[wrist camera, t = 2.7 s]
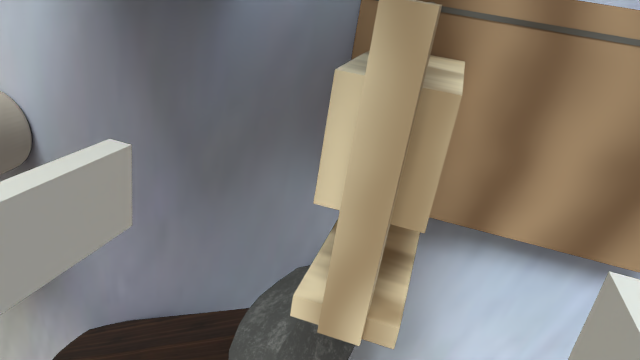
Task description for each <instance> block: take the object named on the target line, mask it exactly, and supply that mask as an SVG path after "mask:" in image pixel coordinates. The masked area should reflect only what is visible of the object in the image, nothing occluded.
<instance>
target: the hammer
mask: <svg viewBox="0 0 640 360" xmlns="http://www.w3.org/2000/svg"><path fill="white" fill-rule="evenodd" d="M310 266H311V265H310ZM310 266H305V267H300V268H297V269H296V270H294V271H293V272H291V273H290V274H288V275H287V276H285V277H284V278H283V279H281V280H280V281H278V282H277V283H275V284H274V285H273V286H272V287H271V288H269V289H268V290H267V291H266V292H264V293H263V294H262V295H261V296H260V297H259V298H258V299H257V300H256V301H255V302H254V304H253V305H252V306H251V307H250V308H246V309H237V310H227V311H217V312H208V313H198V314H188V315H179V316H169V317H160V318H150V319H140V320H131V321H125V322H120V323H115V324H110V325H105V326H102V327H98V328H94V329H90V330H88V331H86V332H85V333H83V334H82V335H80V336H79V337H78V338H76V339H75V340H74V341H72V342H71V343H70V344H68V345H67V346H66V347H65V348H64V349H63V350H61V351H60V352H59V353H58V354H57V355H56V356H55V357H54V358H53V360H348V358H349V356H350V354H351V352H352V350H353V348H354V346H355V345H354V344H351V343H348V342H345V341H342V340H339V339H336V338H333V337H330V336H327V335H324V334H321V333H317V330H318V325H317V324H314V323H311V322H308V321H305V320H301V319H298V318H295V317H292V316H290V313H291V306H292V300H293V295H294V293H295V291H296V290H297V288H298V286H299V285H300V283H301V281H302V279H303V278H304V276H305V274H306V273H307V271H308V269H309V268H310Z"/></svg>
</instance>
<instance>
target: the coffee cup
mask: <svg viewBox="0 0 640 360" xmlns="http://www.w3.org/2000/svg"><path fill="white" fill-rule="evenodd" d="M31 144H32V140H31V131H30V127H29V124H28V122H27V119H26V117H25V115H24V114H23V112H22V110H21V109H20V107H19V106H18V105H17V104H16V103H15V102H14V101H13V100H12V99H11V98H10V97H9V96H7V95H6V94H5V93H3V92H1V91H0V175H1V174H3V173H5V172H7V171H10V170H12V169H14V168H16V167H18V166H19V165H21V164H22V163H23V162H24V161H25V160H26V159H27V157H28V156H29V153H30V150H31Z"/></svg>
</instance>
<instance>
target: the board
mask: <svg viewBox="0 0 640 360" xmlns="http://www.w3.org/2000/svg"><path fill="white" fill-rule="evenodd" d="M417 1H423V2H435V3H436V4H440V5H442V8H441V12H440V16H439V20H438V25H437V29H436V33H435V37H434V41H433V46H432V50H431V54H430V55H433V56H438V57H443V58H448V59H453V60H459V61H464V62H465V69H464V81H463V92H462V98H461V102H460V106H459V109H458V113H457V117H456V120H455V124H454V128H453V131H452V135H451V139H450V142H449V146H448V150H447V153H446V157H445V161H444V164H443V168H442V172H441V175H440V179H439V183H438V186H437V190H436V194H435V197H434V201H433V205H432V208H431V212H430V216H429V217H430V218H433V219H437V220H441V221H445V222H449V223H453V224H456V225H460V226H464V227H468V228H472V229H475V230H479V231H483V232H487V233H491V234H495V235H498V236H502V237H506V238H510V239H514V240H517V241H521V242H525V243H529V244H533V245H537V246H540V247H544V248H548V249H552V250H556V251H560V252H563V253H567V254H571V255H575V256H579V257H582V258H586V259H590V260H594V261H598V262H602V263H605V264H609V265H613V266H617V267H621V268H624V269H628V270H632V271H636V272H640V10H634V9H628V8H622V7H616V6H609V5H603V4H597V3H590V2H584V1H578V0H417ZM378 3H379V0H361V5H360V11H359V17H358V23H357V28H356V34H355V40H354V46H353V52H352V57H351V60H353V59H354V58H356V57H358V56H360V55H362V54H363V53H365V52H367V51H369V50H370V46H371V41H372V35H373V30H374V25H375V19H376V14H377V8H378Z"/></svg>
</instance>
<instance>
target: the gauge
mask: <svg viewBox="0 0 640 360" xmlns="http://www.w3.org/2000/svg"><path fill="white" fill-rule="evenodd" d="M441 8H442V5H440V4H436V3H435V2H423V1H417V0H379V3H378V8H377V14H376V19H375V25H374V30H373V35H372V41H371V46H370V50H369V51H367V52H365V53H363V54H362V55H360V56H358V57H356V58H354V59H353V60H351V61H349V62H347V63H346V64H344V65H342V66H340V67H338V68H337V69H335V72H334V78H333V85H332V91H331V97H330V103H329V110H328V116H327V122H326V128H325V135H324V141H323V147H322V153H321V159H320V166H319V172H318V178H317V184H316V191H315V197H314V204H317V205H321V206H325V207H328V208H332V209H336V210H340V212H339V218H338V220H337V222H336V223H335V225H334V227H333V229H332V230H331V232H330V234H329V235H328V237H327V239H326V240H325V242H324V244H323V245H322V247H321V249H320V251H319V252H318V254H317V256H316V257H315V259H314V261H313V262H312V264H311V266H310V268H309V269H308V271H307V273H306V274H305V276H304V278H303V279H302V281H301V283H300V285H299V286H298V288H297V290H296V291H295V293H294V295H293V300H292V306H291V313H290V316H292V317H295V318H298V319H301V320H305V321H308V322H311V323H314V324H317V325H318V330H317V333H321V334H324V335H327V336H330V337H333V338H336V339H339V340H342V341H345V342H348V343H351V344H354V345H357V346H360V343H361V340H362V339H363V340H366V341H369V342H373V343H376V344H379V345H382V346H385V347H388V348H391V349H394V347H395V343H396V340H397V336H398V332H399V329H400V324H401V319H402V315H403V310H404V305H405V301H406V296H407V291H408V286H409V282H410V277H411V272H412V268H413V263H414V258H415V254H416V249H417V244H418V240H419V235H420V232H421V233H425V230H426V227H427V223H428V219H429V216H430V212H431V208H432V205H433V201H434V197H435V194H436V190H437V186H438V183H439V179H440V175H441V172H442V168H443V164H444V161H445V157H446V153H447V150H448V146H449V142H450V139H451V135H452V131H453V128H454V124H455V120H456V117H457V113H458V109H459V106H460V102H461V98H462V92H463V81H464V69H465V62H464V61H459V60H453V59H448V58H443V57H438V56H433V55H430V54H431V50H432V46H433V41H434V37H435V33H436V29H437V25H438V20H439V16H440V12H441Z"/></svg>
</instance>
